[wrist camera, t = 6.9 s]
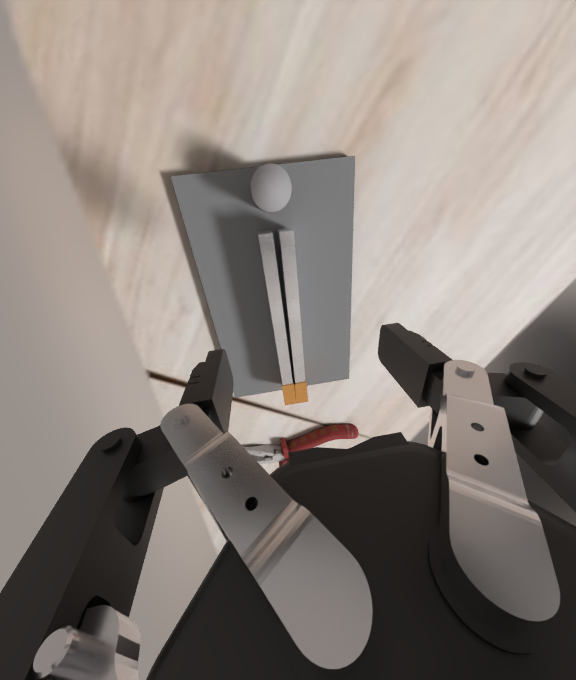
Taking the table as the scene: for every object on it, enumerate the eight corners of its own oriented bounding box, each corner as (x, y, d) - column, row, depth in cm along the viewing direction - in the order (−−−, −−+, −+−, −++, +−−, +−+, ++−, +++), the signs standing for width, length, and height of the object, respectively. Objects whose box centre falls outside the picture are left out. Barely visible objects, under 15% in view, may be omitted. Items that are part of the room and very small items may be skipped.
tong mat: (174, 177, 20) (149, 167, 16) (350, 158, 21) (378, 142, 17) (235, 392, 33) (232, 423, 28) (346, 374, 34) (361, 401, 29)
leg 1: (256, 231, 22) (257, 235, 19) (271, 229, 22) (274, 232, 19) (281, 385, 32) (285, 405, 28) (292, 383, 32) (296, 403, 28)
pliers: (234, 424, 36) (233, 439, 34) (356, 420, 39) (362, 432, 37) (236, 469, 42) (235, 484, 40) (343, 462, 45) (347, 476, 43)
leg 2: (274, 229, 22) (278, 232, 19) (289, 227, 22) (295, 230, 19) (292, 383, 32) (296, 403, 28) (302, 381, 32) (307, 401, 28)
